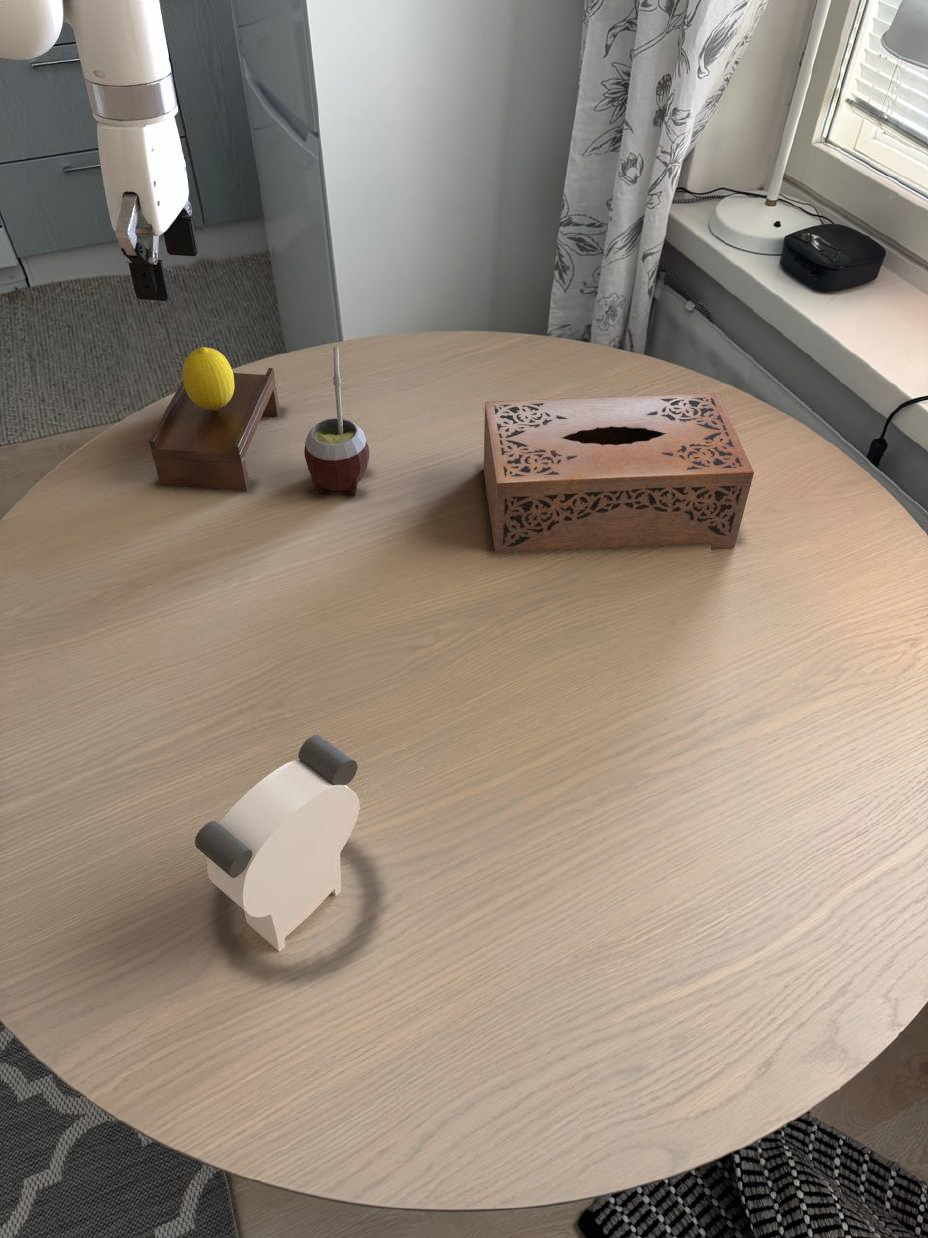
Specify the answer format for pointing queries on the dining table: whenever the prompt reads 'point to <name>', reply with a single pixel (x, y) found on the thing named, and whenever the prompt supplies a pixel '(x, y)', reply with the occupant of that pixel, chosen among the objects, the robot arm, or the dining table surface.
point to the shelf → (212, 435)
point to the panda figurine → (285, 840)
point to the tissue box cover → (613, 472)
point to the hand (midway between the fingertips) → (168, 275)
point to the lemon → (208, 378)
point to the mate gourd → (336, 449)
